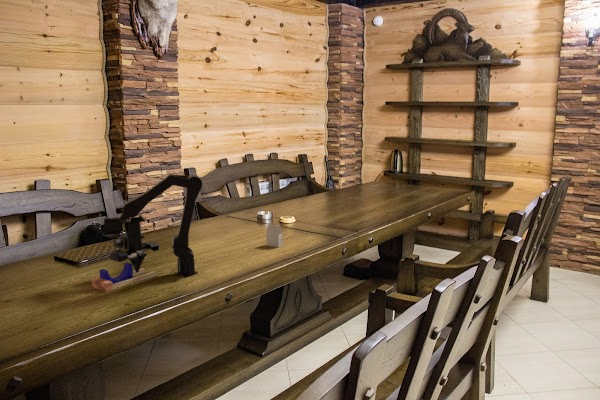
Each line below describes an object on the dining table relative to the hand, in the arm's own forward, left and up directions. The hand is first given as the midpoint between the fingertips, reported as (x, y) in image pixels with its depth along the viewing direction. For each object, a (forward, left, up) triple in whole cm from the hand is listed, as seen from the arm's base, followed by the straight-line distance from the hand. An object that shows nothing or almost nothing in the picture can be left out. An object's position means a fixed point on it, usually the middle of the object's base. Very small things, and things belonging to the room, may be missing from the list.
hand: (137, 272), depth 212 cm
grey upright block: (-13, -68, -2) cm, 70 cm away
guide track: (0, +5, -2) cm, 6 cm away
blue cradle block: (+1, +8, -2) cm, 9 cm away
